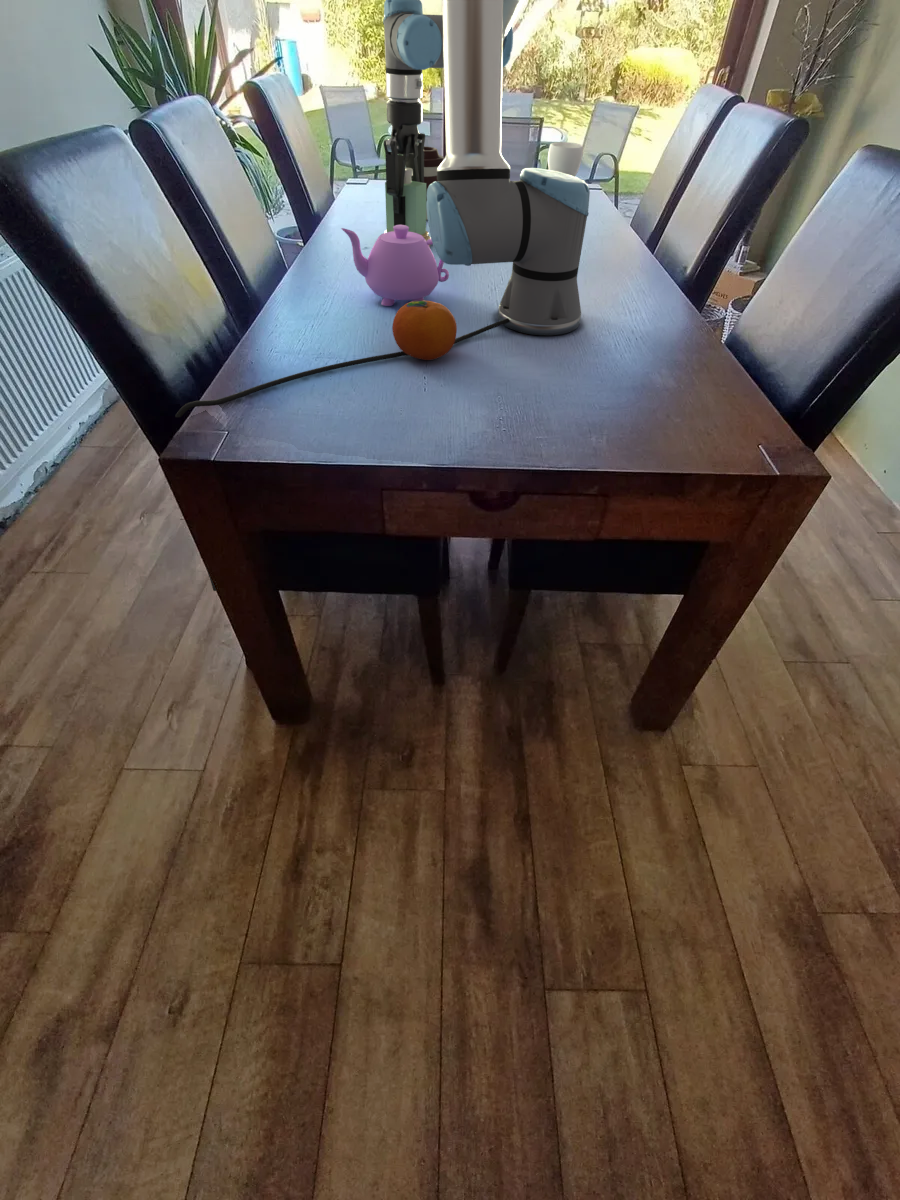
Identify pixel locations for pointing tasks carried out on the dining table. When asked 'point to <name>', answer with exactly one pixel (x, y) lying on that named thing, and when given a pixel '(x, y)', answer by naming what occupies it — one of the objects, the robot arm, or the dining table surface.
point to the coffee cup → (431, 166)
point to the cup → (565, 157)
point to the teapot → (399, 265)
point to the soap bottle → (410, 206)
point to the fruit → (424, 329)
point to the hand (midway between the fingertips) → (406, 225)
